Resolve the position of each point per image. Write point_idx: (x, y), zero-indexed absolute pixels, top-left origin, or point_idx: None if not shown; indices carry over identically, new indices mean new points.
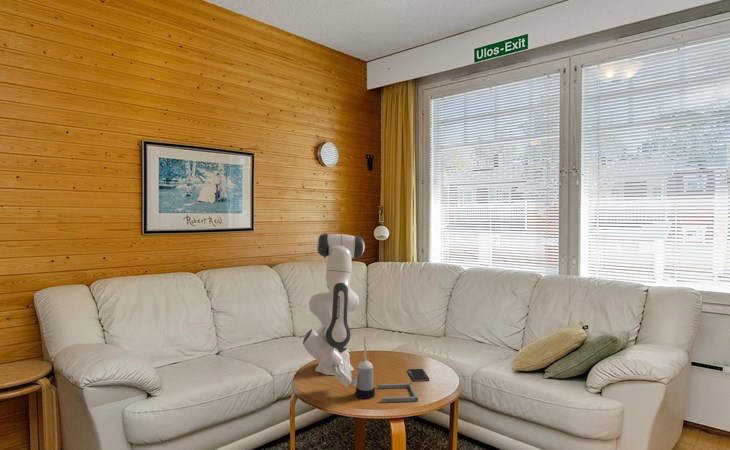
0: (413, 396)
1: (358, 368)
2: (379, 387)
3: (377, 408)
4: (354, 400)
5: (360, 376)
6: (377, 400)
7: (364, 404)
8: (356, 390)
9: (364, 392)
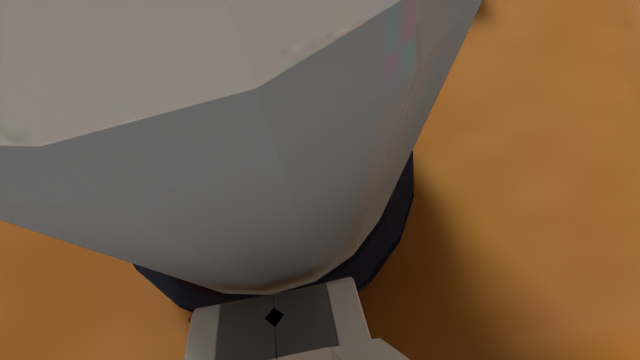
0: None
1: (326, 77)
2: None
3: (636, 12)
4: (475, 317)
5: (420, 125)
6: None
7: (571, 165)
8: None
9: (412, 158)
